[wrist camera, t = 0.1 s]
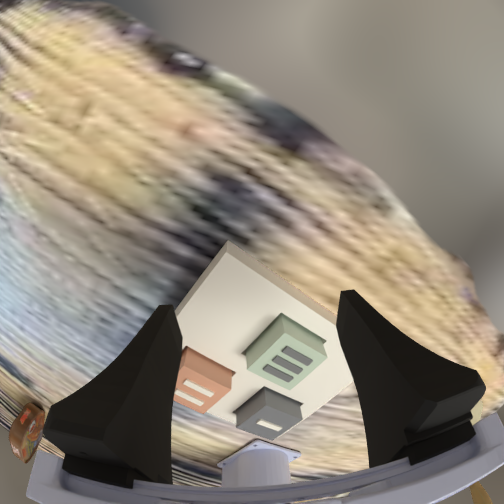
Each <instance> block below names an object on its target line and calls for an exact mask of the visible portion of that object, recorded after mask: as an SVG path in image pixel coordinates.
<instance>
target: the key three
mask: <svg viewBox="0 0 504 504" xmlns="http://www.w3.org/2000/svg"><path fill="white" fill-rule="evenodd" d="M327 358H328V357H327V354H326V351H325V348H324V346H323V343H322V340H321V338H320V336H318V335H317V334H315V333H313V332H312V331H310V330H309V329H307V328H305V327H304V326H302V325H300V324H299V323H297V322H296V321H294V320H292V319H291V318H289V317H288V316H286V315H285V314H283V313H280V314H279V315H278V316H277V317H276V318H275V319H274V320H273V321H272V322H271V323H270V324H269V325H268V327H267V328H266V329H265V330H264V331H263V332H262V333H261V334H260V335H259V336H258V337H257V338H256V339H255V340H254V341H253V342H252V343H251V344H250V345H249V346H248V347H247V348H246V361H247V370H248V371H250V372H252V373H254V374H256V375H258V376H260V377H262V378H264V379H266V380H269V381H271V382H273V383H275V384H277V385H279V386H281V387H283V388H286V389H288V390H291V389H292V388H294V387H295V386H296V385H297V384H298V383H299V382H301V381H302V380H303V379H304V378H305V377H307V376H308V375H309V374H310V373H311V372H312V371H313V370H315V369H316V368H317V367H318V366H319V365H320V364H321V363H322V362H323V361H325V360H326V359H327Z"/></svg>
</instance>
